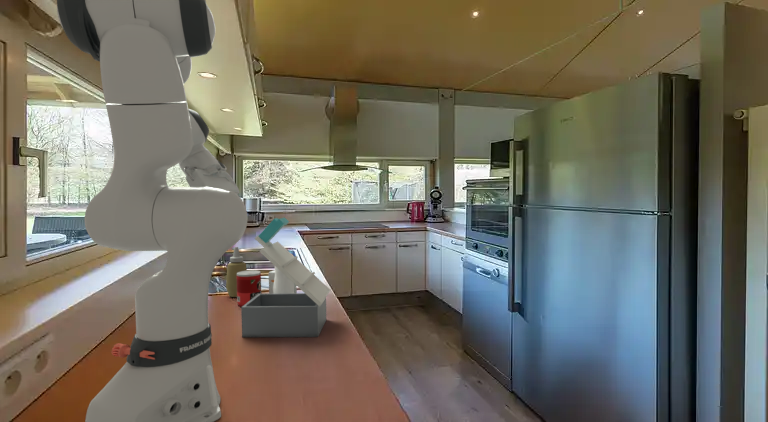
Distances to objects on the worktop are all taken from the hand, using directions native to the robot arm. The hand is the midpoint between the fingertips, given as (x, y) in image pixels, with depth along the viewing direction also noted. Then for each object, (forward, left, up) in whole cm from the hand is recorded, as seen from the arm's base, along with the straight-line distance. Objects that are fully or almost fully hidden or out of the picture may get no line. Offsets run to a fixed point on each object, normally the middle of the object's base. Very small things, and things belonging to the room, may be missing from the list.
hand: (231, 209), depth 109 cm
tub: (+5, -13, -33) cm, 36 cm away
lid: (+6, -15, -17) cm, 23 cm away
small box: (+29, +5, -34) cm, 45 cm away
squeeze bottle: (+29, +25, -34) cm, 51 cm away
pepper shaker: (+21, -1, -34) cm, 40 cm away
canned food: (+21, +13, -34) cm, 42 cm away
